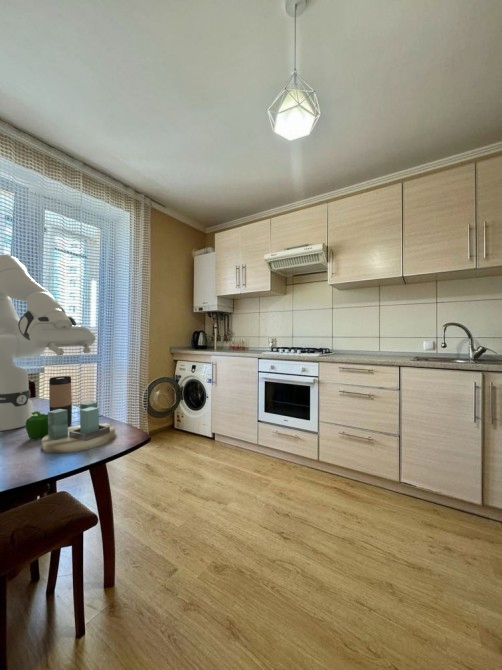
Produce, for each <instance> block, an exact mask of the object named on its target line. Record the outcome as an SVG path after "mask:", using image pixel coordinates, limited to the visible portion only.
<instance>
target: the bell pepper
mask: <svg viewBox="0 0 502 670" xmlns="http://www.w3.org/2000/svg"><path fill="white" fill-rule="evenodd" d="M31 414H32V415H34V416H31V417H30V418H29V419H27V421H26V426H25V430H26V434H27V436H28V438H29V439H30V440H32V441H37V440H40V439H41V440H42V439H43V437H45V436H46V435H48V414H46V413H41V412H40V411H38V410H37V411H34V412H32V413H31Z"/></svg>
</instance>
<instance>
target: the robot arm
mask: <svg viewBox="0 0 502 670" xmlns="http://www.w3.org/2000/svg"><path fill="white" fill-rule="evenodd" d="M12 299H14V300H17V301H21V302H22V301H23V302H26V306H27V308H26V312H25V313H24V314H23V315H22V316H21V318H20V317H19V314H18V312H17V310H16V308H15V305H14V302H13V300H12ZM95 341H96V336H95V334H93V333H92V331H91V330H89V328H88V327H86V326H83V325H77V322H76V320H75V319H74V318H73V317H72V315H70V314H68V313H67V312H66V311H65V309H64V308H63V307H62V306H61V305H60V303H59V302H58V301H57V299H56V298H55V297H54V296H53V295H52V294H51V293H50V291H49V290H48V289H47V288H44V287H43V286H42V285H40V284H39V283H37V281H35V279H33V278H32V277H31V275H30V274H29V272H28V269H27V267H26V265H24V264H23V263H22V262H21V261H19V259H18V258H16V257H15V256H12V255H10V254H0V432H1V431H9V430H14V429H18V428H23V427H26V421H27V419H29V418H30V417H31V416H35V414H34V415H32V414H31V413H32V412H35V411H34V405H33V404H34V403H33V401H32V400H30V398H31V389H29V386H30V385H29V373H28V371H27V370H26V369H25V368H23V367H20V366H17V365H16V364H15V362H14V359H23V358H31V357H35V356H36V357H37V356H38V355H41V354H43V353H44V352H45V350H46V348H48V349H49V350H50V351H52V352H54V353H55V354H56V356H64V353H65V351H64V349H63V348H64V347H65V348H66V347H83V349H82V352H83V353H84V354H89V353H91V348H90V346H93V344H94V342H95ZM62 347H63V348H62Z"/></svg>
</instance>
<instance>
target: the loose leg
mask: <svg viewBox="0 0 502 670" xmlns="http://www.w3.org/2000/svg"><path fill="white" fill-rule="evenodd" d="M99 411H100V410H99V407H97V408H94V407H89V408H86V409H82V410H80V409H79V418H80V419H79V423H80V424H79V425H80V433H84V434H89V433H92V432H94V431H97V430H99V423H100V414H99Z"/></svg>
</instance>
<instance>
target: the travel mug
mask: <svg viewBox="0 0 502 670" xmlns="http://www.w3.org/2000/svg"><path fill="white" fill-rule="evenodd" d="M48 382H49V384H48V387H49V391H48V393H49V397H48V398H49V403H48V405H49V411H53V410H58V409H64V410H67V414H68V427H71V425H72V419H73V418H72V417H73V416H72V412H73V400H72V399H73V398H72V397H73V395H72V376H71V375H70V376H69V375H65V376H54V377H50V378H49V380H48Z"/></svg>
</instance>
